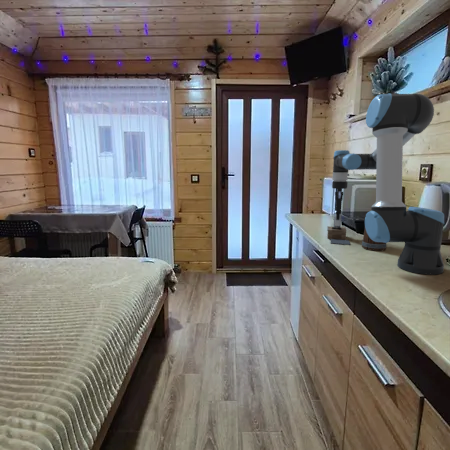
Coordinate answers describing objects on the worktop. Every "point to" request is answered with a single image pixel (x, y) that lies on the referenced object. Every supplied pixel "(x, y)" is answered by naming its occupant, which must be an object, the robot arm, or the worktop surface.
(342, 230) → the block
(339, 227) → the peg
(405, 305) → the worktop surface
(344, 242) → the mat
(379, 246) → the mug
